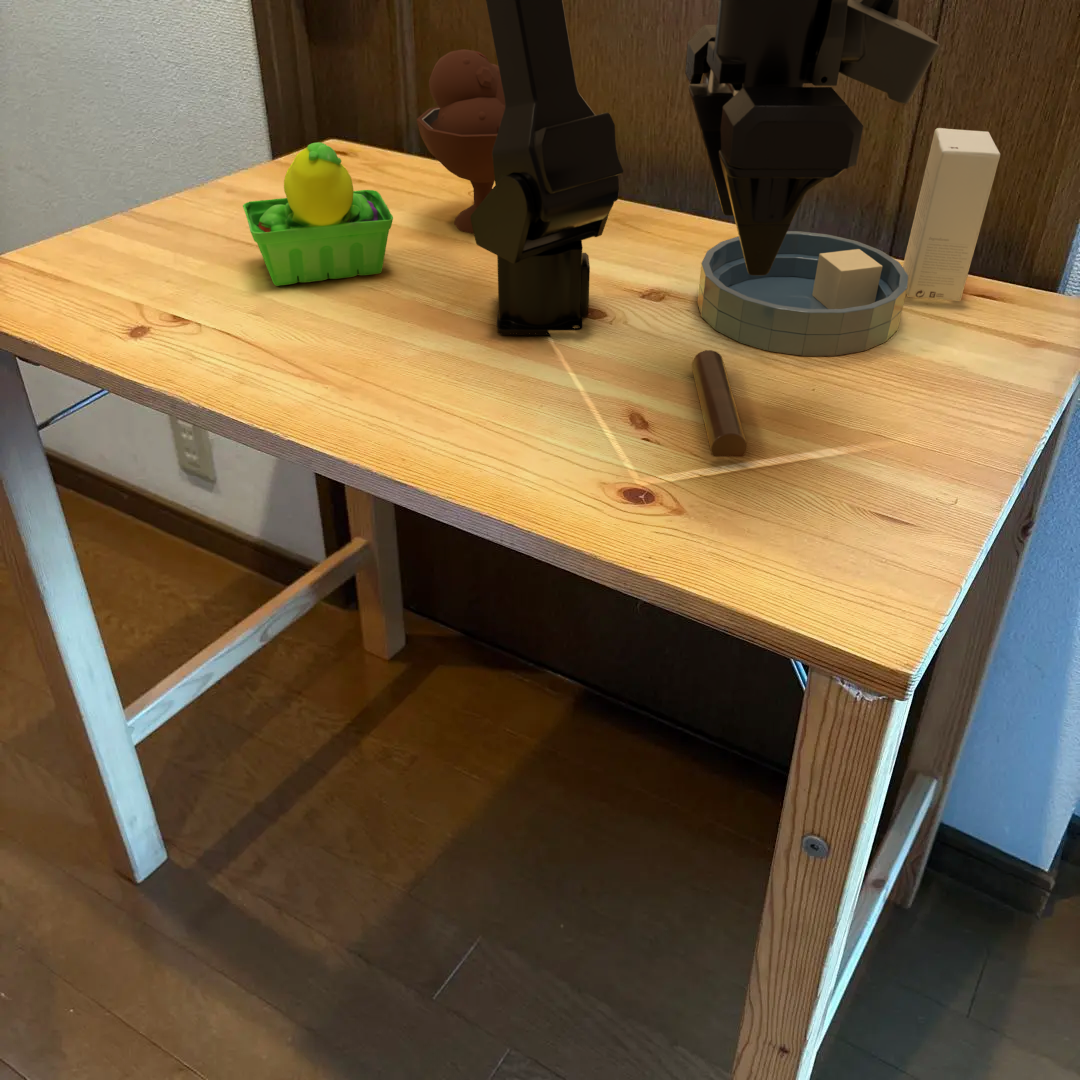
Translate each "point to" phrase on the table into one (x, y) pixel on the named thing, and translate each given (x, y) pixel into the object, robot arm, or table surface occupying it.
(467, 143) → the ice cream bowl
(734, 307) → the bowl
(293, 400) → the table surface
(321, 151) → the fruit basket
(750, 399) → the table surface
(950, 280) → the cosmetic box
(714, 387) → the stick
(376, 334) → the table surface
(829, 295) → the block
